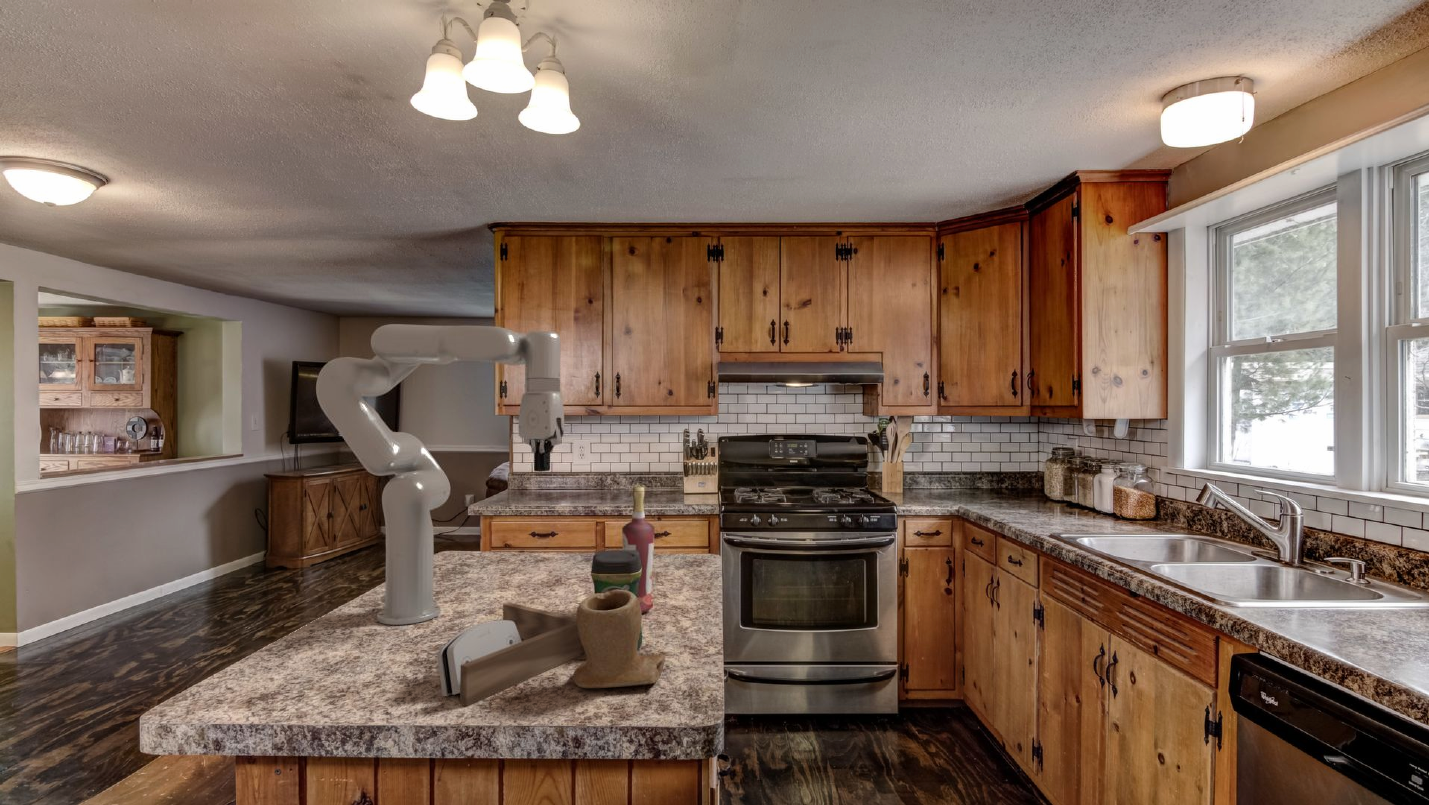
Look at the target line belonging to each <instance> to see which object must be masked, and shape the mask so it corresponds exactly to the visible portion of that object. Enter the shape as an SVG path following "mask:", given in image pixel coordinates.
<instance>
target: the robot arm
mask: <svg viewBox="0 0 1429 805" xmlns="http://www.w3.org/2000/svg"><path fill="white" fill-rule="evenodd" d="M370 346H371V349H372V351H373V353H374V354H375V356H373V358H372V359H366V358H360V357H352V356H345V357H337V358H334V359H332V360H330V361H328V362H327V363H326V364H324V366H323V367H322V368H321V370H320V371H319V374H318V376H317V379H316V384H315V385H316V386H315V391H316V398H317V401H318V404H319V406H320V408H321V410H322V412H323V413H324V415H325V416H326V417H327V418H328V420H329V421H330V422H331V424H333V427H335V429H337V431H338V432H339V434H340V435H341V437H342V438H343V439H344V441H345V443H346V444H347V445H348V447H349V449H350V450H351V451H352V452H353V454H354V455H355V456H356V458H357V459H358V460H359V462H360V464H361V465H362V466H363V468H364V469H365V470H366V471H367V472H368V473H369V474H372V475H374V476H380V477H381V476H389V475H395V476H394V477H393V478H391V479H390V480H389V481H388V482H387V484H386V485H385V486H384V487H383V491H382V494H381V503H382V512H383V516H384V522H385V523H384V524H385V594H384V595H382V596H381V597H380V600H379V601H380V602H381V603H384V609H382V610H380V611H379V612H378V613H377V615H376V621H378V622H379V623H380V624H384V625H393V626H400V625H402V626H403V625H411V624H417V623H422V622H426V621H429V620H431V619H434V618H436V617H438V616H439V615H440V614H441V611H442V610H441V609H442V608H441V606H440V605H439V604H436V603H434V561H435V560H434V559H435V558H434V556H435V554H434V550H435V549H434V547H435V546H434V537H435V536H434V535H435V534H434V526H433V521H432V516H431V512H430V511H432V510H435V509H438V508H439V507H441V506H443V505H444V504H445V503H446V502H447V501H448V499H449V497H450V495H451V484H450V481H449V478H448V476H447V475H446V473H445V472H444V470H443V469H442V468H441V466H440V465H439V463H438V462H437V460H436V459H435V458H434V456H432V454H431V452H430V451H429V450H428V449H427V447H426V446H425V445H424V443H423V442H422V441H421V440H420V439H419V438H418V437H416V436H415V435H413V434H410V433H408V432H403V431H397V432H396V431H393V430H391V429H390V428H389V427H388V425H387V424H386V422H385V421H383V419H382V418H381V416H380V415H379V412H377V411H376V410H375V409H374V408H373V407H372V406H371V405H370V404H369V403H368V402H367V401H366V400H365V399H364V398H363V397H369V398H370V397H373V398H374V397H379V396H382V395H384V394H387V393H389V392H390V391H391V390H393V388H395V387H396V386H397V385H398V384H400V383H401V381H403V380H404V379H406V378H407V377H408V376H409V375H410V374H411V373H412V372H413V371H415V370H416V369H417V368H418V367H419V366H421V364H424V365H425V364H428V365H430V364H431V365H433V364H434V365H449V364H451V363H452V362H461V361H463V362H464V361H465V362H466V361H468V362H469V361H470V362H471V361H472V362H489V363H499V364H503V365H507V366H521V365H524V393H522V396H521V400H520V406H519V414H518V436H519V437H520V438H521V439H523V443H524V444H527V445H529V446H530V448H531V452H532V453H533V470H534V472H538V473H539V472H549V471H550V470H551V453H552V452H553V450H554V447H555V446H558V445H561V444H562V438H563V436H564V434H565V409H564V401H563V396H562V393H561V337H560V335H559V334H558V333H557V332H555V331H550V330H532V331H529V332H528V333H520V332H517V331H514V330H511V329H509V328H505V327H502V326H487V325H427V324H425V325H424V324H402V323H401V324H398V323H394V324H393V323H389V324H385V325H382V326H380V327H377V329H375V330H374V331H373V333H372V335H371V338H370Z"/></svg>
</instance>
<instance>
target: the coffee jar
mask: <svg viewBox="0 0 1429 805" xmlns="http://www.w3.org/2000/svg"><path fill="white" fill-rule="evenodd" d="M591 564H592V565H591V571H590V576H591V580H592V582H593V590H594V591H593V592H594V593H593V594H597V593H606V592H609V591H612V590H626V591H629V592H631V593H633V594H634V595H635V596H636V597H637V598H638V601H639V595H638V583H639V579H640V577H641V573H642V567H641V561H640V555H639V552H638V551H637V550H623V549H607V550H598V551H596V552H595V553H594V554H593V558H592V563H591ZM642 628H643V627H642V626H641V629H640V635H639V640H638V647H637V651H638V650H639V649H640V648H641V647H642V644H643V630H642Z"/></svg>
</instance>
